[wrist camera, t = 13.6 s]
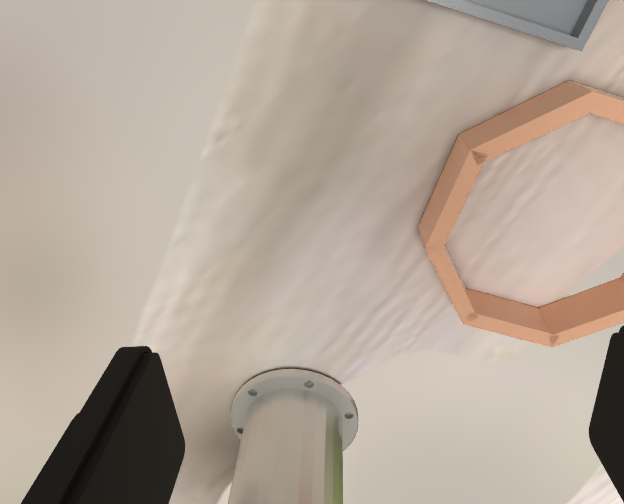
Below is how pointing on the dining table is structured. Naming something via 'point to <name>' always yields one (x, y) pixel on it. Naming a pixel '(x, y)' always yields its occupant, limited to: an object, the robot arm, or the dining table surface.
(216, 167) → the dining table surface
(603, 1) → the tray
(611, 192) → the dining table surface
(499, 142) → the collar
